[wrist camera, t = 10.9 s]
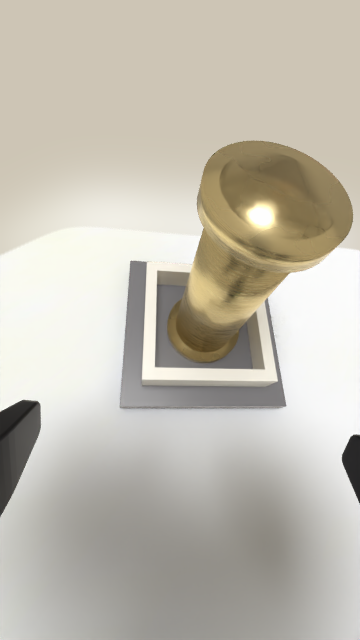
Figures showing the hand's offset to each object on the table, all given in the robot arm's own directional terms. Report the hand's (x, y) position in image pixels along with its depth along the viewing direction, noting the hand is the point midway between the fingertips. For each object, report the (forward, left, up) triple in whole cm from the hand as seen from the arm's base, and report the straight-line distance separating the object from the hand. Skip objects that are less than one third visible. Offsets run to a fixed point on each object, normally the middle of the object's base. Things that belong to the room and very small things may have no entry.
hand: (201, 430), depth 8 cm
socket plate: (+2, -8, -12) cm, 15 cm away
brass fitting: (+2, -8, -11) cm, 14 cm away
